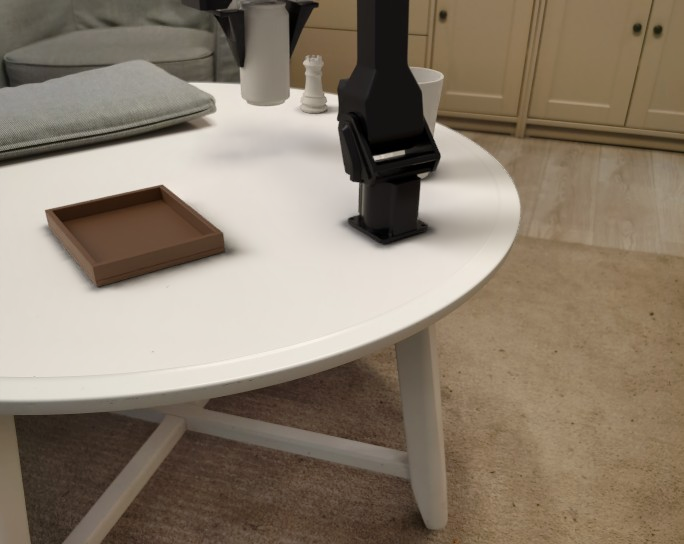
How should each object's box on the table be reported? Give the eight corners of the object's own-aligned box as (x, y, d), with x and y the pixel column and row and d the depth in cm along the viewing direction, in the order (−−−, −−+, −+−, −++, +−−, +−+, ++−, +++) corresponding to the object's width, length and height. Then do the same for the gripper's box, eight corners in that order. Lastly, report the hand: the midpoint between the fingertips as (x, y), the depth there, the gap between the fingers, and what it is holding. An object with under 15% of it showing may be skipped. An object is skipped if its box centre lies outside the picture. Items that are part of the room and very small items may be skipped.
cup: (431, 185, 87) (441, 85, 80) (368, 180, 88) (371, 80, 82) (437, 163, 94) (446, 69, 87) (378, 158, 95) (382, 64, 88)
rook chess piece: (297, 112, 111) (295, 59, 107) (303, 104, 115) (302, 52, 111) (325, 114, 111) (325, 60, 106) (330, 106, 115) (330, 54, 110)
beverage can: (299, 100, 94) (299, 1, 88) (269, 110, 90) (267, 6, 83) (261, 93, 97) (258, -4, 91) (231, 102, 92) (225, 1, 86)
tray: (225, 251, 72) (223, 232, 71) (96, 287, 66) (92, 267, 64) (164, 201, 82) (162, 184, 81) (48, 228, 76) (44, 209, 75)
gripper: (290, -84, 92) (293, 44, 101) (154, -80, 83) (170, 60, 92) (338, -78, 85) (337, 59, 93) (194, -73, 76) (208, 78, 84)
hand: (264, 63), depth 91 cm, fingers closed on beverage can, 6 cm apart
